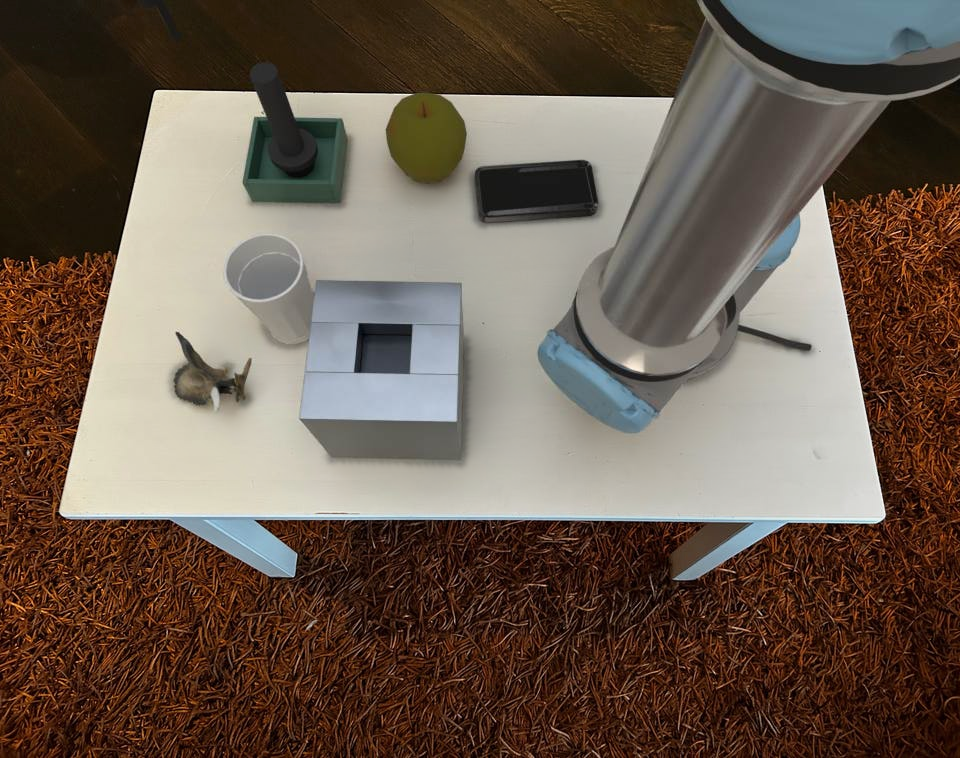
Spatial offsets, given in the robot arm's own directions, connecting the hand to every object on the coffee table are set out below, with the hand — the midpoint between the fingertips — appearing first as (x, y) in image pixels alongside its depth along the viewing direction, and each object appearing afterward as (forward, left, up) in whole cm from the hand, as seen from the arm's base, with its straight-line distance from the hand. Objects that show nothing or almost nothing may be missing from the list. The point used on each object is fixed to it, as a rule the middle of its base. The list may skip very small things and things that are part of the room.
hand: (242, 6), depth 62 cm
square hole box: (-27, +20, -24) cm, 42 cm away
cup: (-11, +18, -24) cm, 32 cm away
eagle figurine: (-8, +29, -24) cm, 39 cm away
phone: (-27, -12, -24) cm, 38 cm away
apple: (-13, -9, -24) cm, 29 cm away
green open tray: (+1, 0, -24) cm, 24 cm away
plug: (+1, 0, -23) cm, 23 cm away
